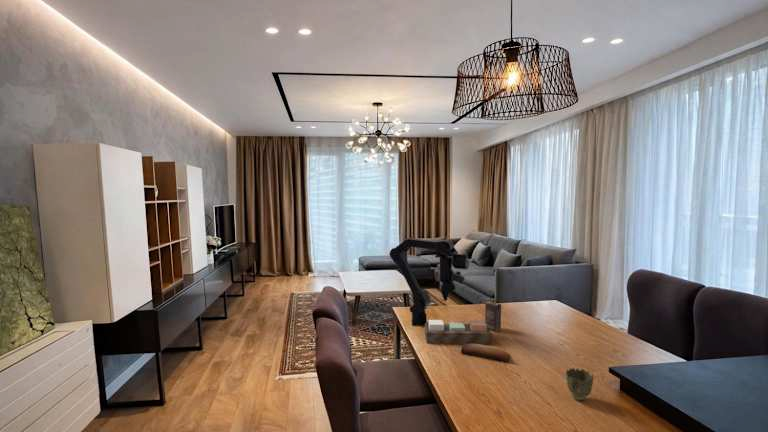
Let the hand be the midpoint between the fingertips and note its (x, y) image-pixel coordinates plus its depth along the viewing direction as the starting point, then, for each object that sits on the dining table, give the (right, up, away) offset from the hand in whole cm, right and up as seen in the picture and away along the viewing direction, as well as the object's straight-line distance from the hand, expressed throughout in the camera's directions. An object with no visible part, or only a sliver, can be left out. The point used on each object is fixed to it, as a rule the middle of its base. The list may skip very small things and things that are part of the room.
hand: (445, 300), depth 170 cm
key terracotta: (+12, -11, -12) cm, 20 cm away
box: (+22, -13, 0) cm, 26 cm away
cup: (+31, -17, -58) cm, 68 cm away
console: (+3, -14, -11) cm, 18 cm away
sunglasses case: (+11, -15, -27) cm, 33 cm away
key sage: (+3, -12, -11) cm, 17 cm away
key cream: (-6, -11, -11) cm, 17 cm away
